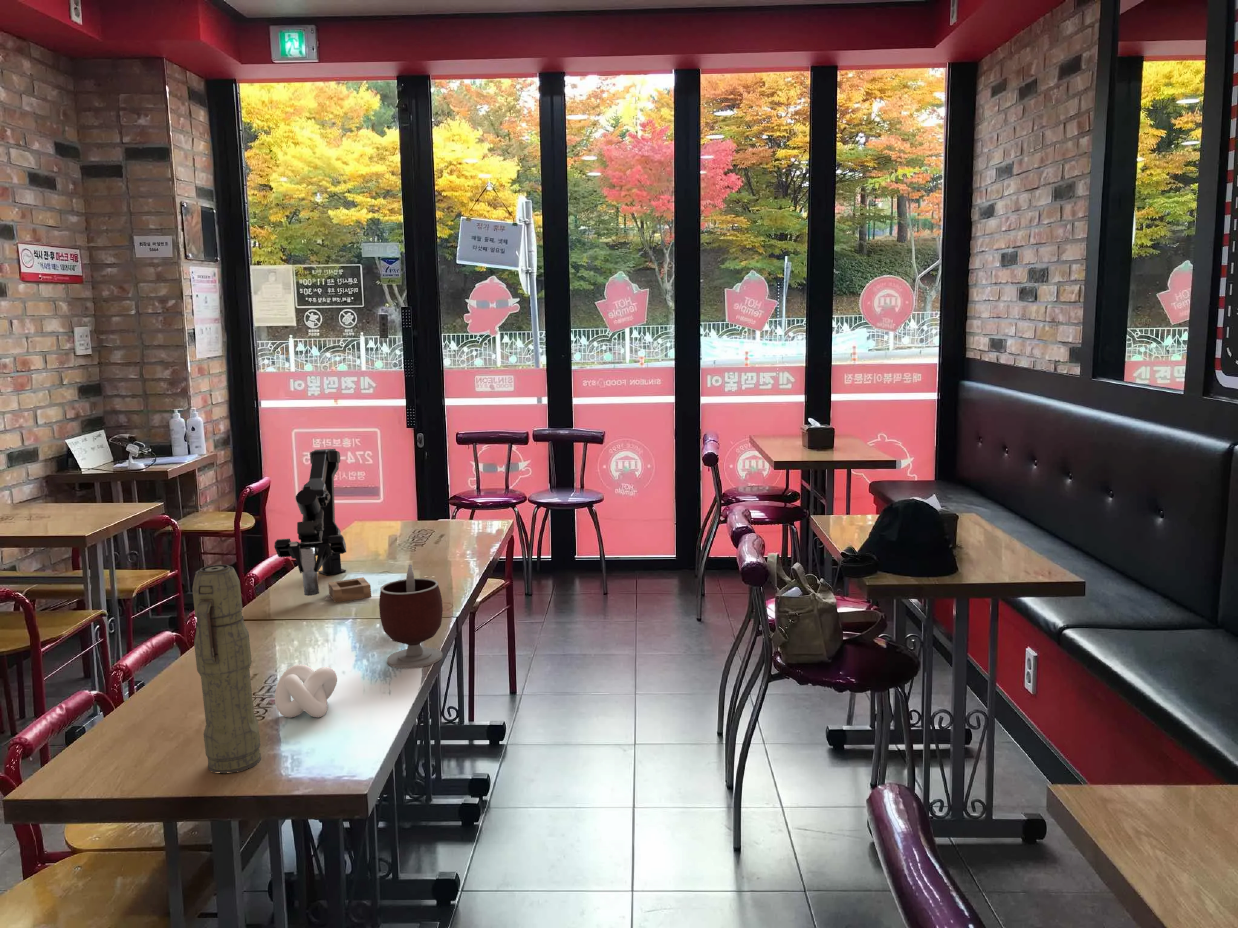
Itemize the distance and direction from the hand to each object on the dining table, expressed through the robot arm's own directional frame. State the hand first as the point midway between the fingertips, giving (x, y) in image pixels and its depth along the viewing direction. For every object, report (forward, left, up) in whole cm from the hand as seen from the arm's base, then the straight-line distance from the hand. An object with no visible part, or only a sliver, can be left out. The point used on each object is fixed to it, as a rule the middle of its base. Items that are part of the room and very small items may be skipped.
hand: (308, 571), depth 270 cm
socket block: (+2, +11, -9) cm, 14 cm away
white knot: (+76, -38, -9) cm, 85 cm away
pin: (-1, +1, -7) cm, 7 cm away
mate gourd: (+64, -6, -9) cm, 65 cm away
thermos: (+87, -57, -9) cm, 104 cm away
